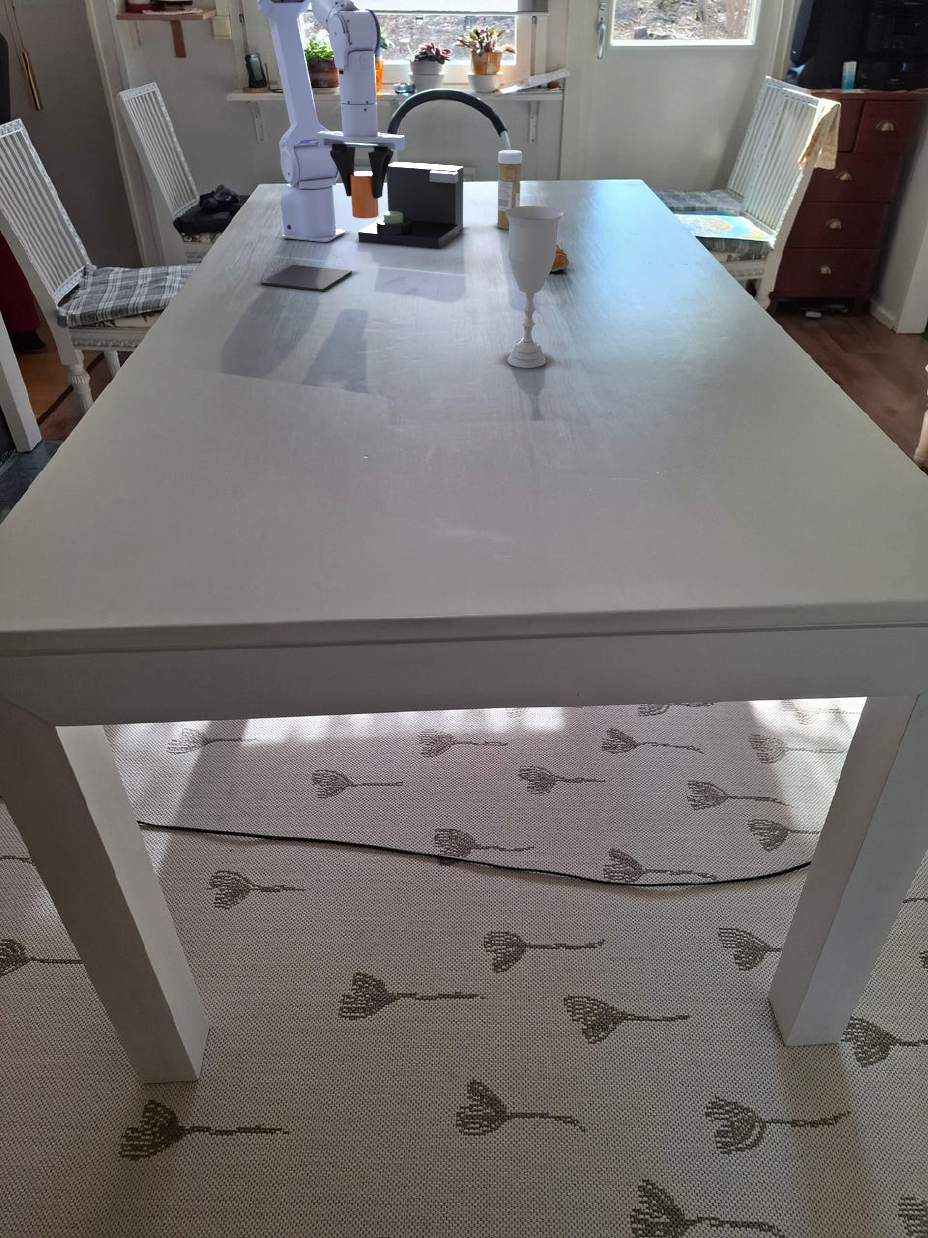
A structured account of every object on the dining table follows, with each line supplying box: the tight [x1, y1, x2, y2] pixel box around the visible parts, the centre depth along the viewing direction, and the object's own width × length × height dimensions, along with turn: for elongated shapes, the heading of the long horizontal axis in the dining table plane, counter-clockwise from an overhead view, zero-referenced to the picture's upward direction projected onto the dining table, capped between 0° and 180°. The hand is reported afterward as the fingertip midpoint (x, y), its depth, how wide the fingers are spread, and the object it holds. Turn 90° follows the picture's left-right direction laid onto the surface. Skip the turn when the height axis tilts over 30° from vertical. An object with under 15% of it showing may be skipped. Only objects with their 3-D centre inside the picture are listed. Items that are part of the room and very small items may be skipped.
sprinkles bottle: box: [496, 149, 523, 230], centre depth 169 cm, size 5×5×14 cm
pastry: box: [550, 243, 570, 273], centre depth 149 cm, size 9×7×4 cm
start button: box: [383, 211, 403, 224], centre depth 161 cm, size 4×4×2 cm
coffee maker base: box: [357, 217, 461, 250], centre depth 164 cm, size 16×12×4 cm
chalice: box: [506, 205, 563, 369], centre depth 108 cm, size 7×7×18 cm
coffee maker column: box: [386, 161, 464, 231], centre depth 168 cm, size 14×6×11 cm, turn 71°
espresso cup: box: [350, 170, 379, 220], centre depth 146 cm, size 4×4×6 cm
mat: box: [260, 264, 353, 293], centre depth 143 cm, size 11×11×1 cm
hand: (364, 196), depth 146 cm, fingers closed on espresso cup, 4 cm apart
